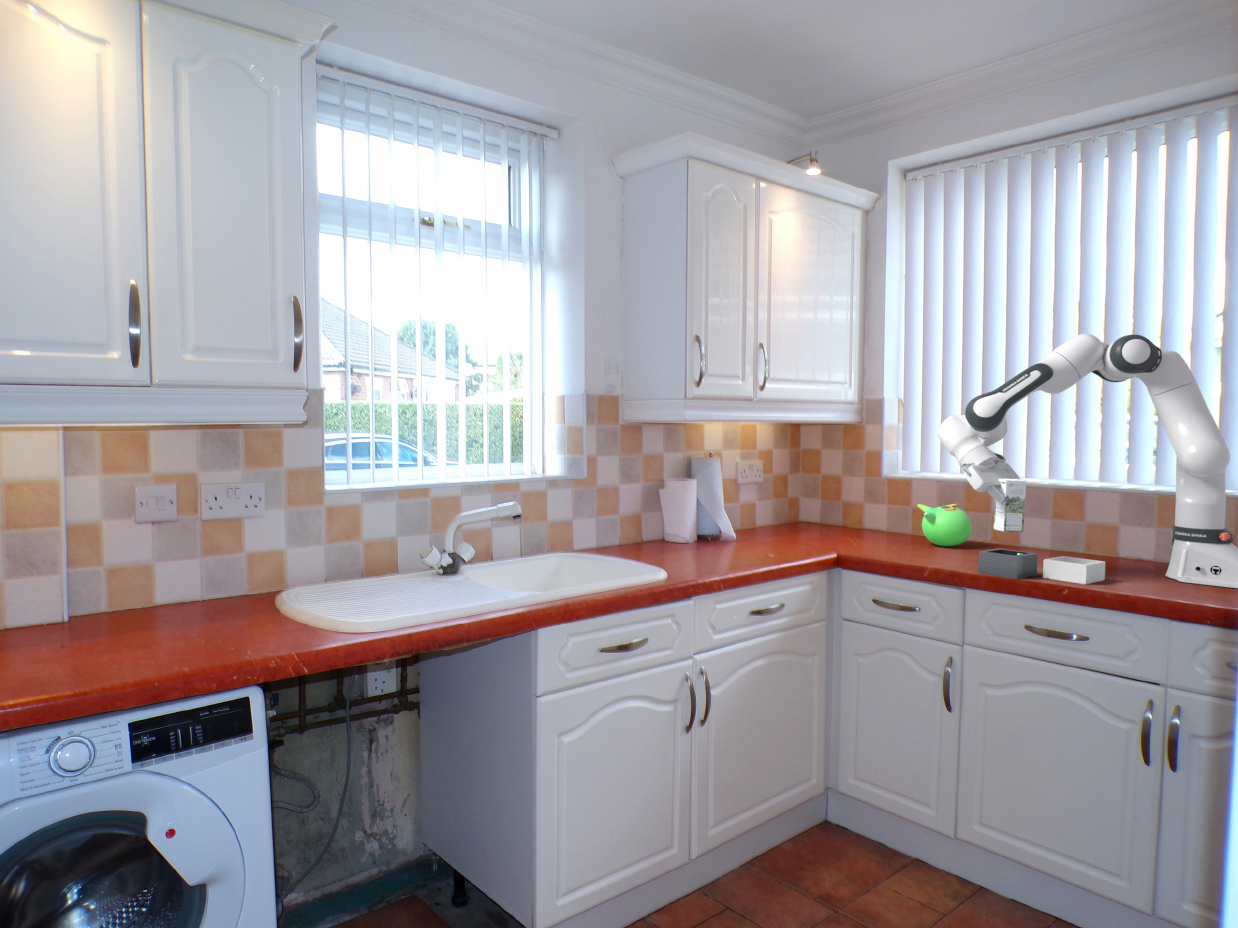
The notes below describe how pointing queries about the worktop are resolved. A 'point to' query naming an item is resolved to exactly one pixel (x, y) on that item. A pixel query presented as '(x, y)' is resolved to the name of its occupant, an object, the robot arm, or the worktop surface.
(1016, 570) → the gray storage box
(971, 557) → the worktop surface
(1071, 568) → the white storage tray
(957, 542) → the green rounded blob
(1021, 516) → the syrup box
